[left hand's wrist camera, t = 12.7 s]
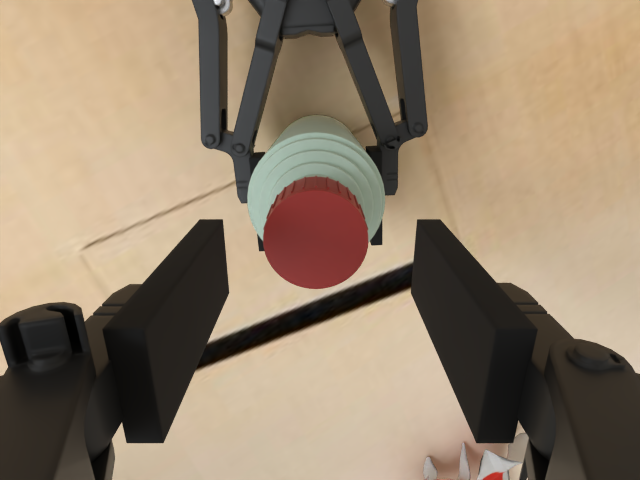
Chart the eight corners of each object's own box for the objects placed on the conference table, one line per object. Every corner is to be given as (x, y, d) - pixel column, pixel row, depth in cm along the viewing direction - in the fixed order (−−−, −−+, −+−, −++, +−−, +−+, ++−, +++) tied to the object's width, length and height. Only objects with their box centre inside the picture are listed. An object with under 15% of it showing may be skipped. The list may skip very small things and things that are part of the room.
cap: (250, 230, 19) (240, 251, 16) (306, 155, 18) (303, 165, 15) (324, 281, 20) (326, 308, 17) (382, 212, 18) (392, 231, 16)
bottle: (257, 167, 35) (191, 254, 17) (307, 96, 33) (295, 105, 15) (324, 216, 36) (332, 345, 18) (376, 150, 35) (443, 221, 16)
